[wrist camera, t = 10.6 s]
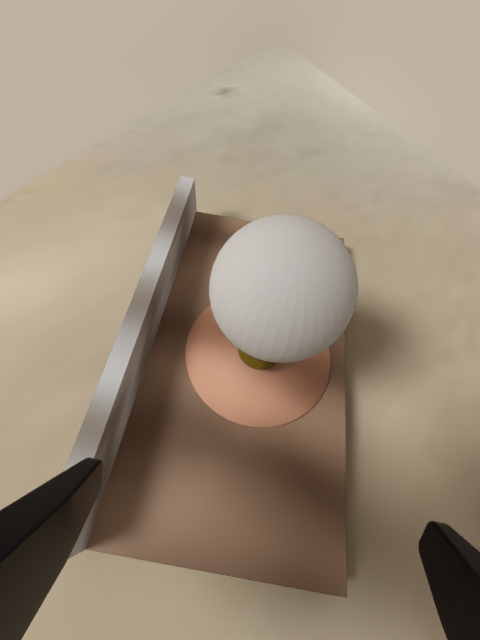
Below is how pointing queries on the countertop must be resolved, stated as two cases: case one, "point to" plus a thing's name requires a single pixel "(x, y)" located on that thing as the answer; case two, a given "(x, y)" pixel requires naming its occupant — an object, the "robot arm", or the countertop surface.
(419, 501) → the countertop surface
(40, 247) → the countertop surface
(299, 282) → the light bulb
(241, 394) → the board
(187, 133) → the countertop surface
